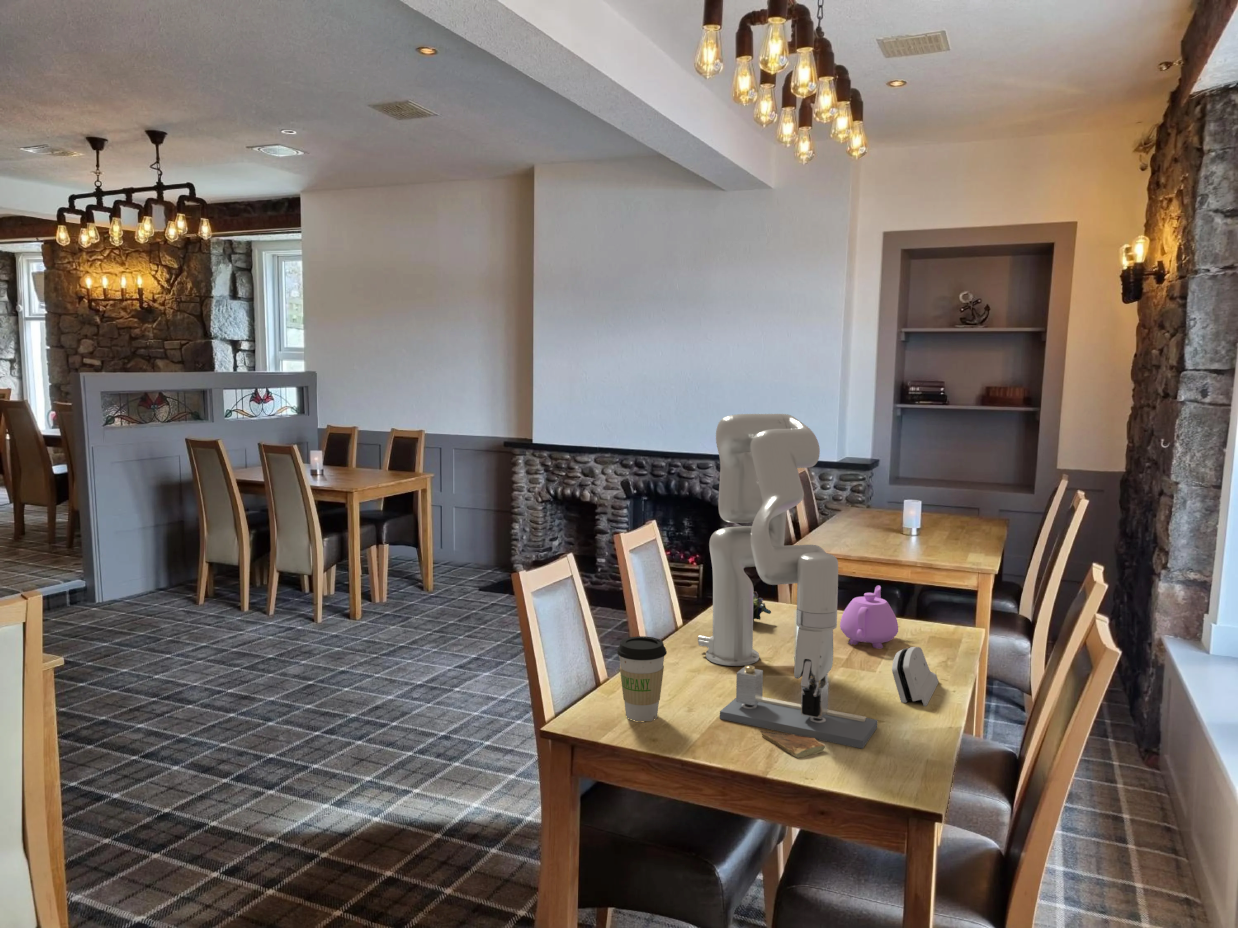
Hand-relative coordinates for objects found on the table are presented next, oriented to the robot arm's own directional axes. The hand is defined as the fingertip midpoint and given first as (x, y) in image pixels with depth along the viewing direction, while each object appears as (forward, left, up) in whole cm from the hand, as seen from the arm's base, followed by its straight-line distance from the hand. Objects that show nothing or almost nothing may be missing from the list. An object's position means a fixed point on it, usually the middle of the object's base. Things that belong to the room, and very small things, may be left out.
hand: (814, 709), depth 169 cm
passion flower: (-37, +58, -4) cm, 69 cm away
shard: (-1, -12, -4) cm, 12 cm away
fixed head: (-13, 0, -1) cm, 13 cm away
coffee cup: (-31, -12, -3) cm, 34 cm away
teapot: (-4, +60, -4) cm, 60 cm away
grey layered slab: (+13, +29, -4) cm, 32 cm away
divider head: (0, 0, -1) cm, 1 cm away
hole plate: (-3, 0, -3) cm, 5 cm away
